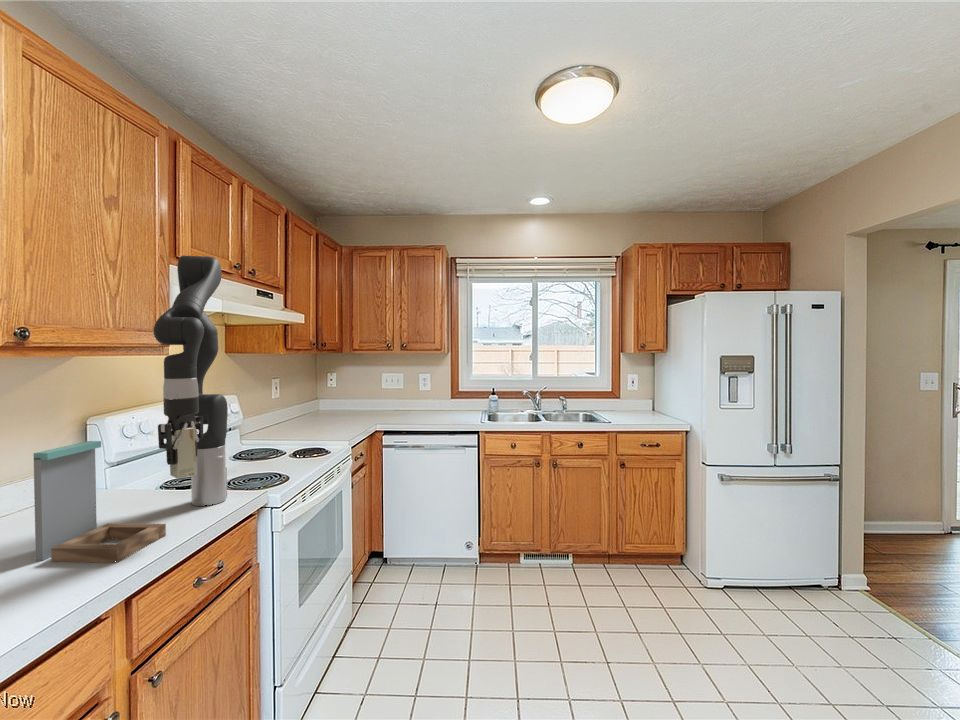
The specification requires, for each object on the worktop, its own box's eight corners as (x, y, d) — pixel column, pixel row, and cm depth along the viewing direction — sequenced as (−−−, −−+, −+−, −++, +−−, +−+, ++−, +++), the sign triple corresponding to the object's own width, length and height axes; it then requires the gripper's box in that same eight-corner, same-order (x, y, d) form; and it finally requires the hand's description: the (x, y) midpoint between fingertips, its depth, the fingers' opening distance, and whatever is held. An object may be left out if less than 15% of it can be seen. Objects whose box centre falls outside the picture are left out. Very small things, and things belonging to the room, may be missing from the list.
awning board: (90, 535, 117) (88, 441, 117) (102, 535, 117) (101, 441, 117) (35, 560, 103) (33, 453, 103) (49, 560, 103) (47, 453, 103)
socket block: (108, 535, 118) (107, 523, 118) (165, 535, 117) (165, 523, 117) (51, 561, 103) (51, 548, 103) (117, 562, 102) (117, 549, 102)
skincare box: (196, 476, 118) (195, 428, 118) (177, 479, 115) (176, 430, 114) (188, 471, 122) (187, 425, 122) (169, 475, 119) (168, 427, 119)
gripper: (185, 393, 125) (186, 454, 126) (145, 399, 111) (147, 467, 111) (212, 393, 125) (214, 454, 125) (176, 399, 111) (177, 468, 111)
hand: (182, 460), depth 118 cm, fingers closed on skincare box, 7 cm apart
